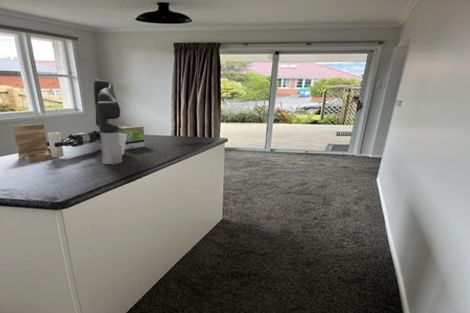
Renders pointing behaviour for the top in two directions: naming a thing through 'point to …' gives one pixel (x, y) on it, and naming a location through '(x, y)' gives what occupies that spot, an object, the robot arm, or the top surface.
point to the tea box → (133, 136)
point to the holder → (32, 142)
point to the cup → (122, 141)
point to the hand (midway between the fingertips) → (51, 144)
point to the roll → (53, 139)
